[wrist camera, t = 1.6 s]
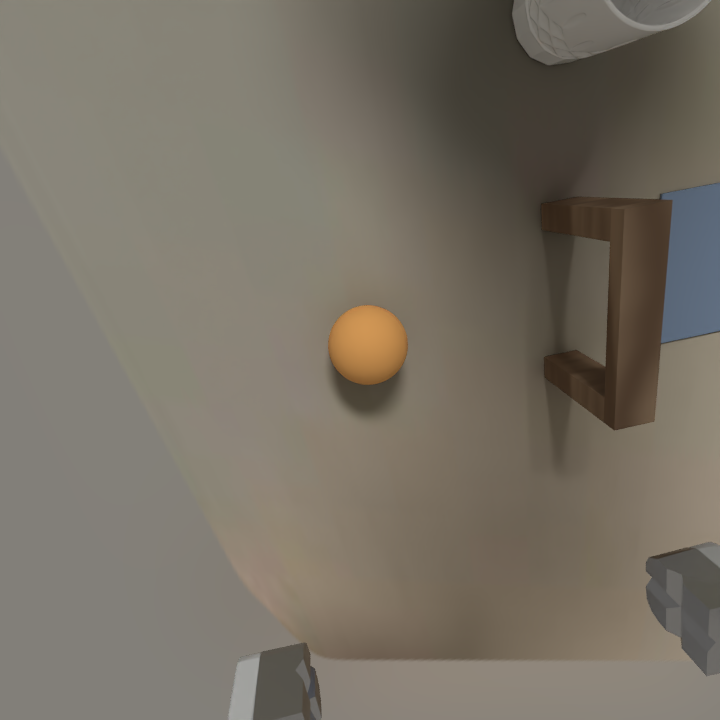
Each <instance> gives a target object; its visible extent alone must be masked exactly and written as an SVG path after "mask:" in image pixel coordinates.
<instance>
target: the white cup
mask: <svg viewBox="0 0 720 720" xmlns="http://www.w3.org/2000/svg"><path fill="white" fill-rule="evenodd" d="M710 1H711V0H514V4H513V10H512V17H513V22H514V27H515V32H516V37H517V40H518V41H519V43H520V44H521V45H522V47H523V48H524V50H525V51H526V52H527V54H528V55H529V56H530V57H531V58H533V59H535V60H537V61H540V62H542V63H544V64H546V65H556V64H563V63H570V62H573V61H575V60H578V59H582V58H586V57H590V56H593V55H596V54H599V53H602V52H605V51H608V50H612V49H615V48H618V47H621V46H623V45H626V44H629V43H632V42H634V41H637V40H640V39H643V38H645V37H648V36H651V35H654V34H657V33H659V32H662V31H665V30H668V29H671V28H674V27H676V26H678V25H681V24H683V23H684V22H686V21H688V20H690V19H691V18H693V17H694V16H695V15H697V14H698V13H699V12H700V11H701V10H702V9H704V8H705V7H706V6H707V5H708V4H709V2H710Z"/></svg>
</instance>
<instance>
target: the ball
mask: <svg viewBox="0 0 720 720" xmlns="http://www.w3.org/2000/svg"><path fill="white" fill-rule="evenodd" d="M328 349H329V355H330V358H331V361H332V363H333V365H334V366H335V368H336V369H337V370H338V372H339V373H340V374H341V375H343V376H344V377H345V378H347V379H348V380H350V381H352V382H355V383H358V384H363V385H372V384H378V383H381V382H384V381H386V380H388V379H389V378H391V377H392V376H393V375H395V374H396V373H397V372H398V370H399V369H400V368H401V366H402V365H403V363H404V361H405V358H406V355H407V349H408V342H407V335H406V332H405V329H404V327H403V326H402V324H401V322H400V321H399V320H398V318H397V317H396V316H395V315H393V314H392V313H391V312H389V311H388V310H386V309H384V308H381V307H377V306H372V305H364V306H358V307H355V308H352V309H350V310H348V311H347V312H345V313H344V314H343V315H341V316H340V317H339V318H338V320H337V321H336V322H335V324H334V325H333V327H332V330H331V332H330V335H329V341H328Z"/></svg>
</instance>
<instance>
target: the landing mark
mask: <svg viewBox="0 0 720 720" xmlns="http://www.w3.org/2000/svg"><path fill="white" fill-rule="evenodd" d="M660 199H662V200H673V204H672V216H671V228H670V240H669V252H668V264H667V276H666V288H665V300H664V312H663V324H662V336H661V343H665V342H669V341H674V340H679V339H683V338H688V337H693V336H697V335H702V334H707V333H711V332H716V331H720V183H716V184H711V185H705V186H700V187H695V188H690V189H685V190H679V191H674V192H669V193H664V194H661V195H660Z"/></svg>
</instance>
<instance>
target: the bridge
mask: <svg viewBox="0 0 720 720" xmlns="http://www.w3.org/2000/svg"><path fill="white" fill-rule="evenodd" d="M672 204H673V200H662V199H631V198H600V197H574V198H569V199H563V200H558V201H553V202H548V203H542V204H541V217H542V230H545V231H551V232H557V233H563V234H569V235H574V236H580V237H586V238H592V239H598V240H603V241H609V242H610V260H609V287H608V315H607V343H606V367H605V366H603V365H601V364H600V363H598V362H596V361H594V360H593V359H591V358H589V357H587V356H586V355H584V354H582V353H581V352H579V351H577V350H574V351H569V352H565V353H560V354H555V355H550V356H546V357H544V377H545V378H546V379H547V380H549V381H550V382H551V383H553V384H554V385H555V386H557V387H558V388H559V389H561V390H562V391H563V392H565V393H566V394H567V395H568V396H570V397H571V398H572V399H574V400H575V401H576V402H578V403H579V404H580V405H582V406H583V407H584V408H586V409H587V410H588V411H590V412H591V413H592V414H593V415H595V416H596V417H597V418H599V419H600V420H601V421H603V422H604V423H605V424H607V425H608V426H609V427H611V428H612V429H613V430H618V429H623V428H627V427H632V426H636V425H641V424H645V423H650V422H654V420H655V408H656V396H657V384H658V372H659V360H660V348H661V336H662V324H663V312H664V300H665V288H666V276H667V264H668V252H669V240H670V228H671V216H672Z"/></svg>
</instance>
